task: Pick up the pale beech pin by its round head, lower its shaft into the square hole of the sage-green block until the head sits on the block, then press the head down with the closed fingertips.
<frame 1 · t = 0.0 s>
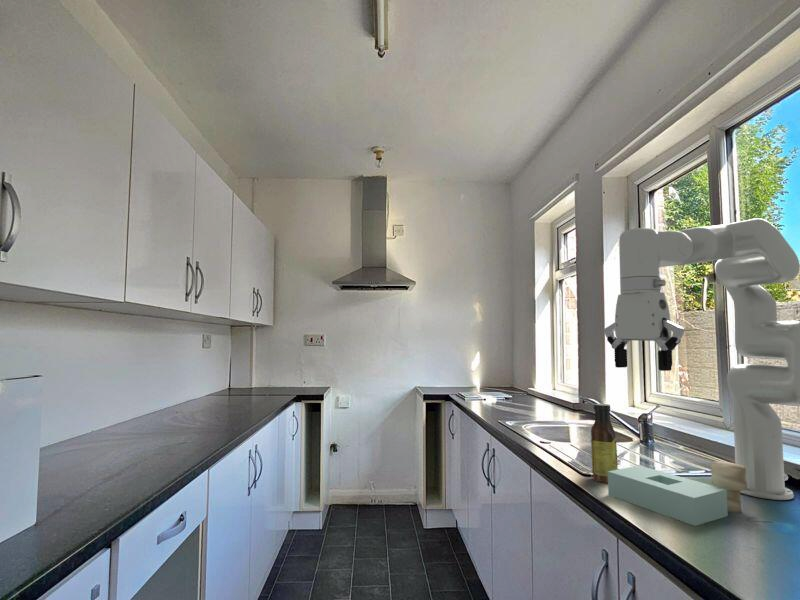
hand: (642, 368, 94), 31 cm above the worktop, tool pointing down, fingers open, 9 cm apart
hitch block: (664, 504, 103), on the worktop
sauce bottle: (604, 481, 120), on the worktop
pin: (729, 509, 101), on the worktop
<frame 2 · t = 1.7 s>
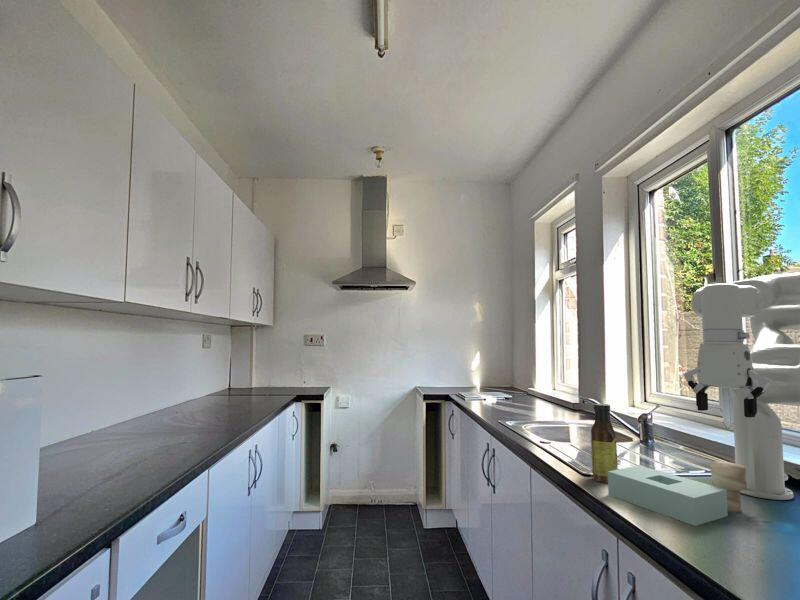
hand: (725, 413, 102), 21 cm above the worktop, tool pointing down, fingers open, 9 cm apart
nothing on the worktop moved.
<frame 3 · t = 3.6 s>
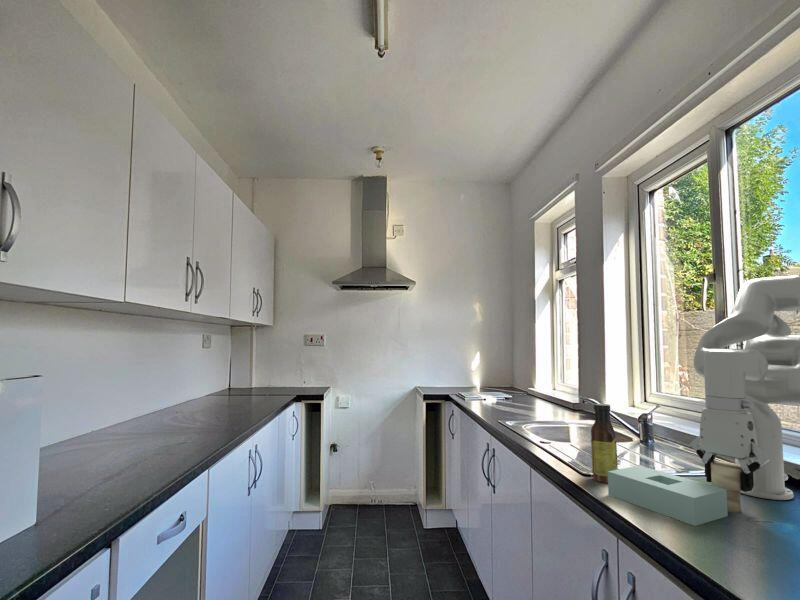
hand: (728, 485, 101), 5 cm above the worktop, tool pointing down, fingers closed on pin, 6 cm apart
pin: (729, 509, 101), on the worktop, touching gripper
everything else where it was.
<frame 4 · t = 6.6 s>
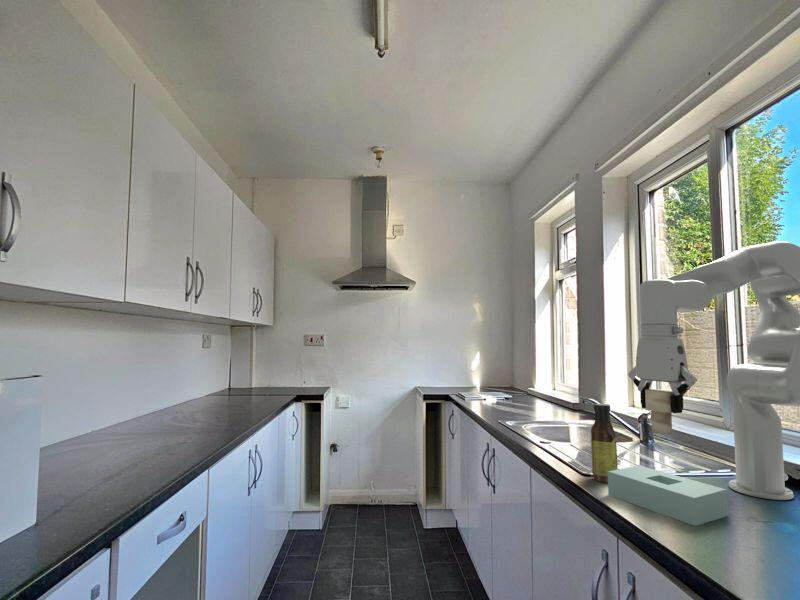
hand: (661, 409, 104), 21 cm above the worktop, tool pointing down, fingers closed on pin, 6 cm apart
pin: (662, 432, 104), point 16 cm above the worktop, touching gripper
everything else where it was.
when the fingers open (7 cm above the worktop, at t = 9.7 s): pin stays where it is, resting on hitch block.
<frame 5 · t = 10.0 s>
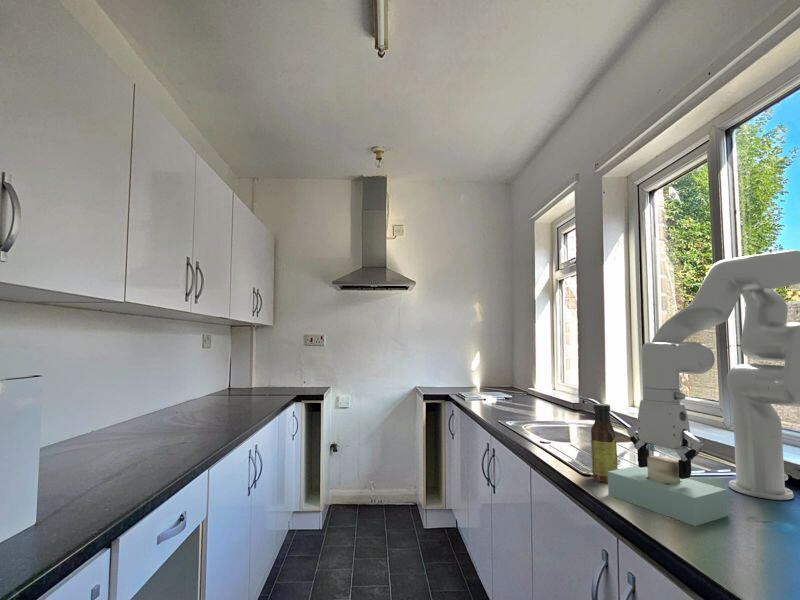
hand: (663, 472, 103), 7 cm above the worktop, tool pointing down, fingers open, 9 cm apart
pin: (664, 502, 103), resting on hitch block
everything else where it was.
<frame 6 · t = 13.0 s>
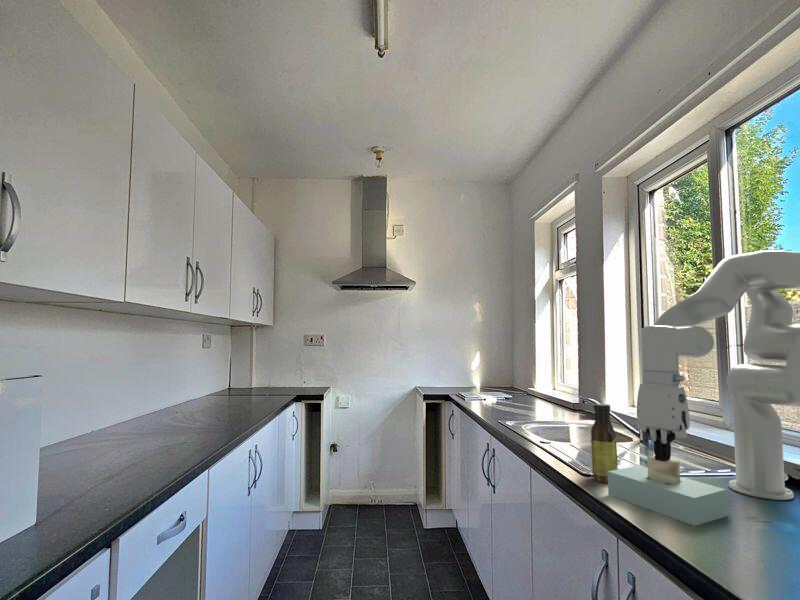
hand: (662, 459, 103), 10 cm above the worktop, tool pointing down, fingers closed
pin: (664, 502, 103), resting on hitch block, touching gripper
everything else where it was.
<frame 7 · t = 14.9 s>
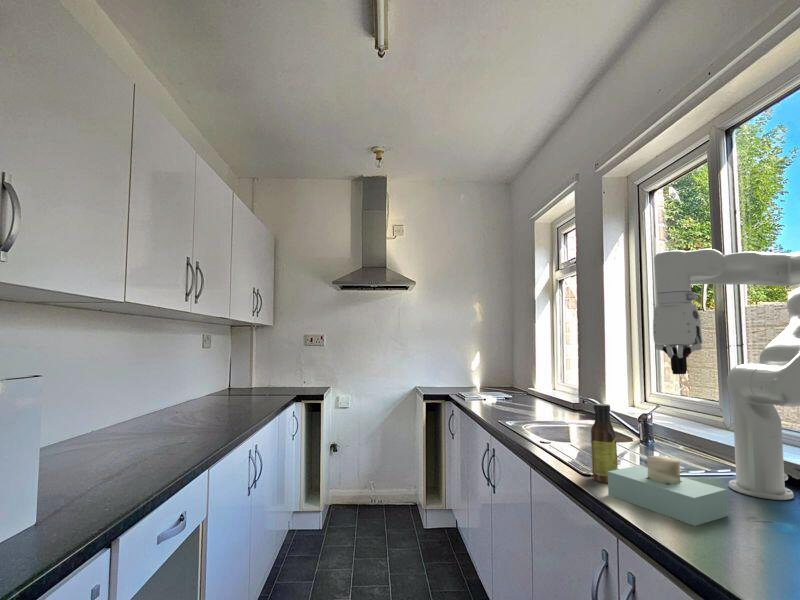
hand: (679, 373, 112), 29 cm above the worktop, tool pointing down, fingers closed
pin: (664, 502, 103), resting on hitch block
everything else where it was.
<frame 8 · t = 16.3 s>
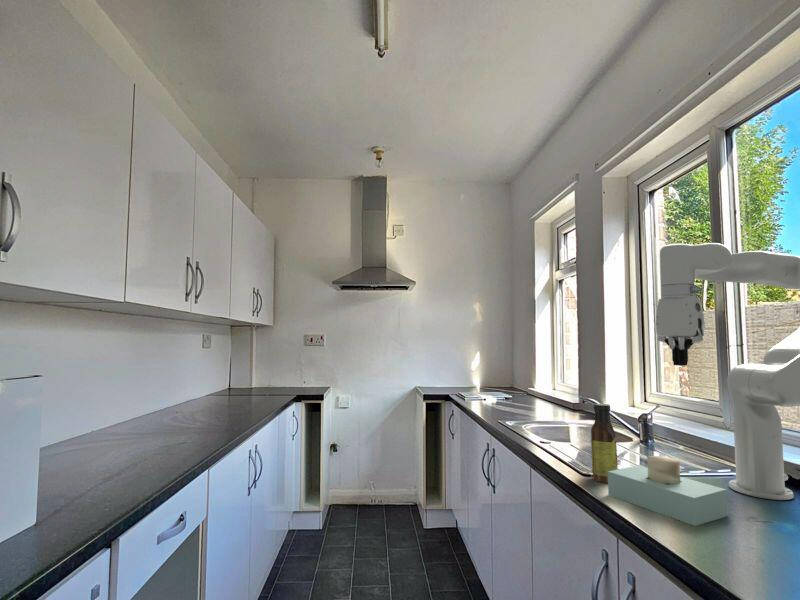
hand: (680, 365, 114), 31 cm above the worktop, tool pointing down, fingers closed
nothing on the worktop moved.
at the end: pin 0.0 cm off-centre on the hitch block, point 0.5 cm above the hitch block's base; pin tilted 0°; the gripper is holding nothing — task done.
